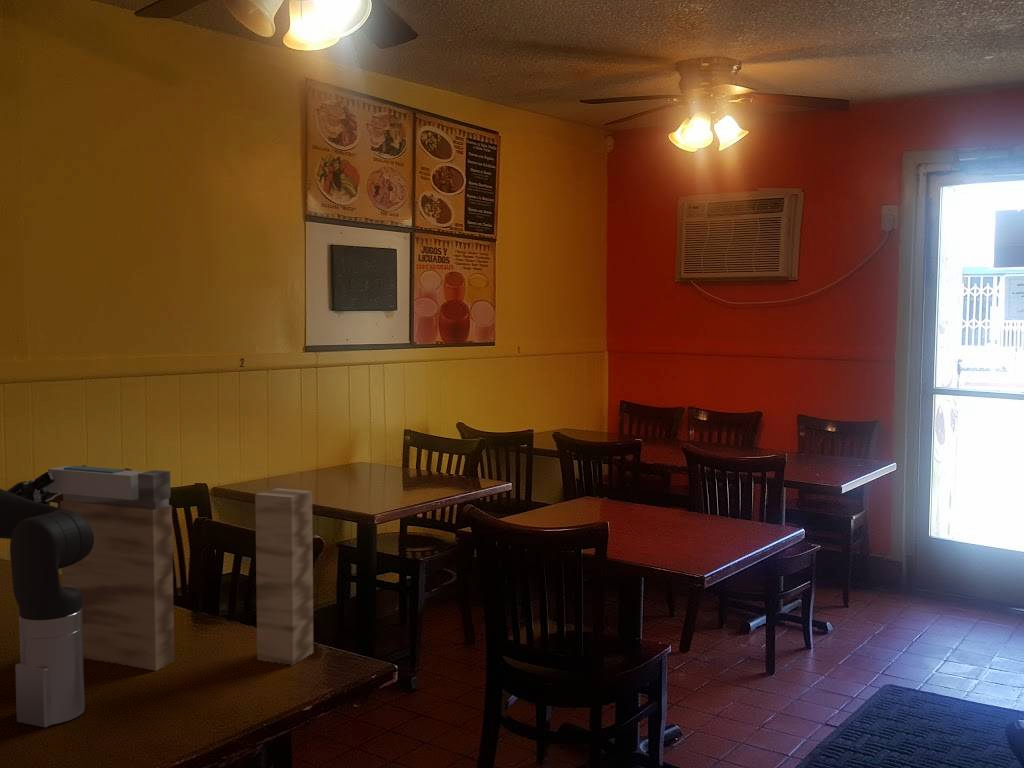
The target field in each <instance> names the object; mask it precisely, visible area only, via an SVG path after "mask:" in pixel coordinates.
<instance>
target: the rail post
mask: <svg viewBox="0 0 1024 768" xmlns="http://www.w3.org/2000/svg"><path fill="white" fill-rule="evenodd" d="M142 472H143V473H139V474H138V498H137V499H133V500H126V499H116V498H105V497H94V496H84V495H73V494H63V495H62V496H63V500H61V501H60V502H59V508H63V509H67V510H70V511H73V512H75V513H77V514H79V515H80V516H82V517H83V518H84V519H85V520H86V521H87V522H88V524H89V525H90V527H91V529H92V531H93V535H94V545H93V548H92V550H91V551H90V553H89V554H88V555H87V556H86V557H85V558H84V559H82V560H81V561H79V562H77V563H75V564H73V565H70V566H67V567H64V568H61V578H62V579H61V581H62V582H61V584H62V585H61V586H62V587H70V588H75V589H77V590H79V591H80V593H81V595H82V621H83V660H84V659H85V660H90V659H91V661H96V660H97V662H102V661H105V662H104V663H108V662H110V663H109V664H113V663H117V664H116V665H119V664H122V665H121V666H125V665H128V666H127V667H131V666H132V667H133V668H137V667H138V668H140V669H143V668H144V669H145V670H150V671H158V670H160V669H162V668H165V667H166V666H169V665H170V663H171V664H172V663H174V662H175V619H174V618H175V616H174V614H175V613H174V608H175V607H174V566H173V564H174V563H173V560H174V557H173V556H174V555H173V551H174V550H173V548H174V547H173V506H172V505H171V504H170V499H171V496H172V495H171V494H172V491H171V471H170V470H157V469H155V470H148V471H142Z"/></svg>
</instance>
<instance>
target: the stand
mask: <svg viewBox="0 0 1024 768" xmlns="http://www.w3.org/2000/svg"><path fill="white" fill-rule="evenodd" d="M254 498H255V502H254V503H255V504H254V505H255V563H256V564H255V566H256V567H255V574H256V576H255V581H256V590H255V591H256V656H257V657H256V660H257V661H261V660H262V662H267V661H269V663H274V662H278V663H277V664H280V663H284V664H283V665H286V664H290V665H289V666H295V665H296V663H297V662H298V663H300V662H302V661H303V660H305V659H306V658H308V657H309V655H310V654H311V655H313V654H314V561H313V560H314V558H313V557H314V555H313V554H314V552H313V550H314V548H313V547H314V545H313V544H314V543H313V533H314V532H313V530H314V529H313V528H314V527H313V490H304V489H292V488H279V487H276V488H272V489H269V490H265V491H262V492H258V493H255V495H254ZM312 653H313V654H312ZM311 655H310V656H311ZM307 656H308V657H307ZM304 658H305V659H304ZM302 659H303V660H302ZM299 661H300V662H299ZM298 663H297V664H298ZM294 664H295V665H294Z"/></svg>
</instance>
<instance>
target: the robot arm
mask: <svg viewBox="0 0 1024 768" xmlns="http://www.w3.org/2000/svg"><path fill="white" fill-rule="evenodd" d="M82 466H85V467H87V465H85V464H84V465H82ZM53 482H54V478H53V476H52V473H51V472H48V471H46V472H44V473H43V474H41V475H40V476H38V477H36V478H35V479H31V480H29V481H26V480H24V481H19V482H18V483H16V484H15V485H12V487H10V488H8V489H7V490H5V489H2V488H0V539H5V540H9V541H10V542H9V555H10V557H9V558H10V567H11V568H10V569H11V579H12V580H11V581H12V591H13V594H14V595H13V596H14V599H15V600H16V601H15V602H16V603H17V607H18V614H19V615H18V619H19V648H20V649H19V651H20V652H19V654H20V662H18V663H16V664H15V668H14V670H15V700H16V701H15V702H16V704H15V705H16V706H15V707H16V722H17V723H21V724H26V725H30V726H35V727H40V728H47V727H50V726H52V725H57V724H61V723H64V722H68V721H71V720H73V719H75V718H77V717H79V716H80V715H82V714H83V713H84V712H85V706H86V705H85V675H84V671H85V670H84V669H85V668H84V658H83V621H82V595H81V593H80V591H79V590H77V589H75V588H70V587H62V585H61V581H60V580H61V579H60V574H59V570H60V569H61V570H62V568H64V567H67V566H70V565H73V564H75V563H77V562H79V561H81V560H82V559H84V558H85V557H86V556H87V555H88V554H89V553H90V551H91V550H92V548H93V545H94V535H93V531H92V529H91V527H90V525H89V524H88V522H87V521H86V520H85V519H84V518H83V517H82V516H80V515H79V514H77V513H75V512H73V511H70V510H67V509H63V508H60V506H59V507H58V506H54V505H49V504H48V501H52V500H53V499H54V498H55V497H57V496H60V495H61V496H63V494H62V493H52V492H49V485H50V484H51V483H53Z"/></svg>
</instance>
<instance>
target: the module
mask: <svg viewBox="0 0 1024 768" xmlns="http://www.w3.org/2000/svg"><path fill="white" fill-rule="evenodd" d="M47 472H51V473H52V476H53V478H54V482H53V483H51V484H50V485H49V492H52V493H62V494H73V495H84V496H94V497H105V498H116V499H126V500H133V499H137V498H138V474H139V473H143V472H144V471H137V470H127V469H126V470H125V469H121V468H109V467H96V466H86V467H85V466H83V465H63V466H58V467H51V468H47Z"/></svg>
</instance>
